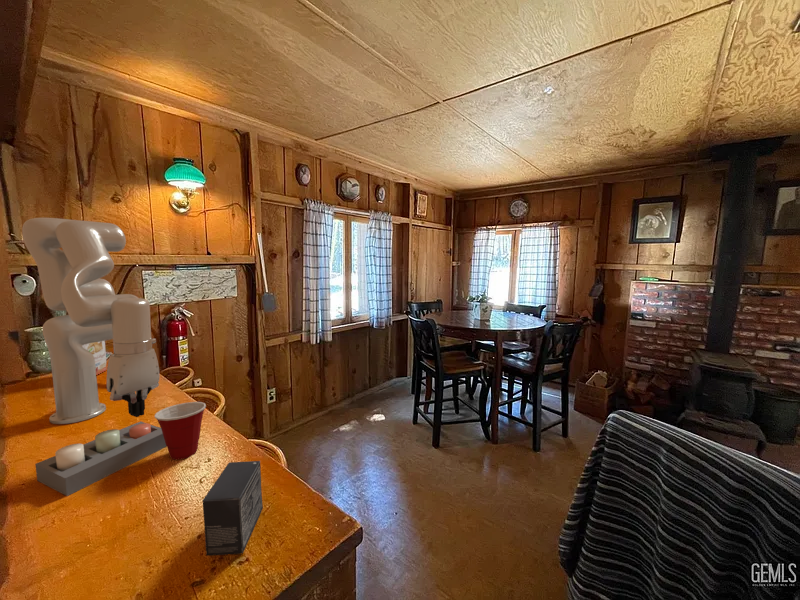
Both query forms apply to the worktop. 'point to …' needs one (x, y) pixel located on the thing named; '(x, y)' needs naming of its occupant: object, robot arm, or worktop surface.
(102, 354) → the cracker box
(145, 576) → the worktop surface
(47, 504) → the worktop surface
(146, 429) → the brick button
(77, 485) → the panel
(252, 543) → the worktop surface
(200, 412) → the plastic cup
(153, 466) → the worktop surface
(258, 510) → the small box
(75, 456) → the ivory button
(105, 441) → the sage button
